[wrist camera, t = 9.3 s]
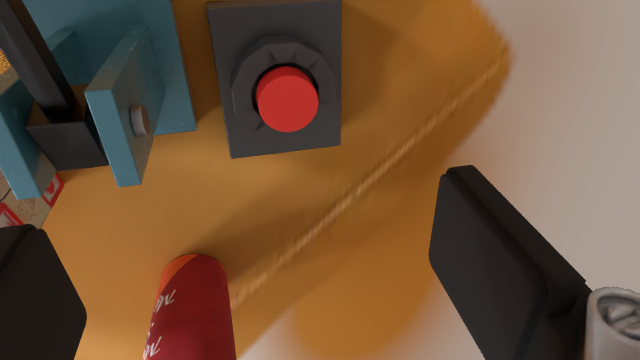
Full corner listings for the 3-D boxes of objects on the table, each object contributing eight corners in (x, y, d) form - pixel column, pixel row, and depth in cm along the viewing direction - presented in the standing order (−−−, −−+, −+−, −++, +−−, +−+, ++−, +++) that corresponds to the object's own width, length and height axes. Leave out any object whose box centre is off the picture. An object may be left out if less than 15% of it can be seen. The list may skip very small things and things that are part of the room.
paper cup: (138, 252, 34) (101, 422, 23) (231, 238, 36) (240, 393, 24) (160, 312, 39) (138, 481, 27) (242, 298, 40) (253, 454, 29)
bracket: (14, -26, 23) (-134, 24, 13) (165, -33, 24) (132, 7, 14) (77, 136, 28) (7, 255, 19) (197, 123, 29) (189, 228, 20)
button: (252, 68, 24) (255, 78, 23) (312, 63, 25) (318, 72, 24) (259, 123, 27) (261, 135, 25) (314, 117, 27) (319, 128, 26)
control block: (206, 1, 25) (205, 16, 22) (333, -7, 27) (349, 6, 23) (229, 144, 31) (231, 172, 28) (333, 132, 32) (347, 157, 29)
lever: (-231, -219, 10) (-299, -192, 8) (6, -214, 10) (-21, -188, 9) (33, 136, 19) (22, 176, 18) (144, 124, 20) (142, 162, 19)
